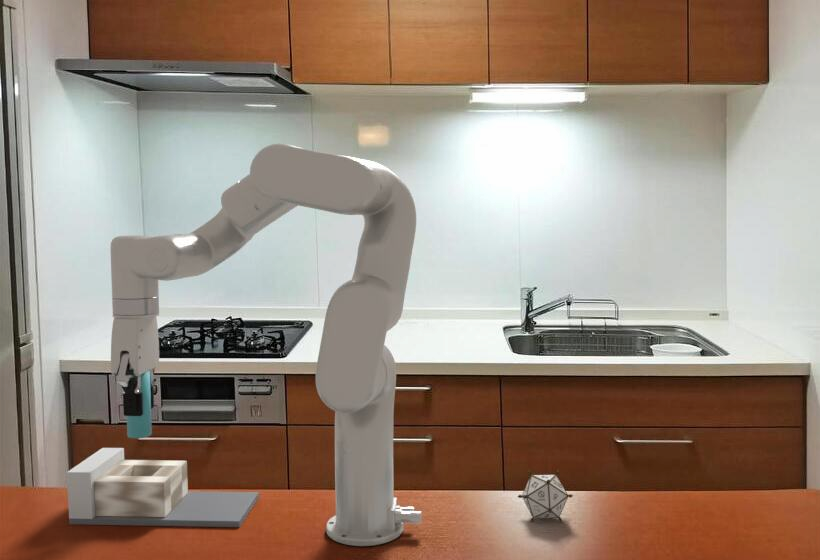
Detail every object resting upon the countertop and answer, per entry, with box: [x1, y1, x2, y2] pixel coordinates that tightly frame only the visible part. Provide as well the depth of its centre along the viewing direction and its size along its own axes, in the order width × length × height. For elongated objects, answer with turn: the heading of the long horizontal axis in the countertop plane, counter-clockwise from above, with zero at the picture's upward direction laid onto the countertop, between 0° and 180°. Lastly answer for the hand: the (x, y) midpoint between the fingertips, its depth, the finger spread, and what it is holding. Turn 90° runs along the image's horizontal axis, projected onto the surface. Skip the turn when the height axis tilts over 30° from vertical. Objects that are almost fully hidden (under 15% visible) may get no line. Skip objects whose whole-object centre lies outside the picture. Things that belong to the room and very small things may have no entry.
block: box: [94, 459, 189, 517], centre depth 131 cm, size 12×11×6 cm
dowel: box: [126, 370, 153, 439], centre depth 130 cm, size 4×4×12 cm
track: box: [66, 447, 260, 528], centre depth 131 cm, size 29×13×9 cm, turn 87°
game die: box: [517, 470, 574, 523], centre depth 127 cm, size 9×8×10 cm
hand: (139, 410), depth 130 cm, fingers closed on dowel, 4 cm apart
